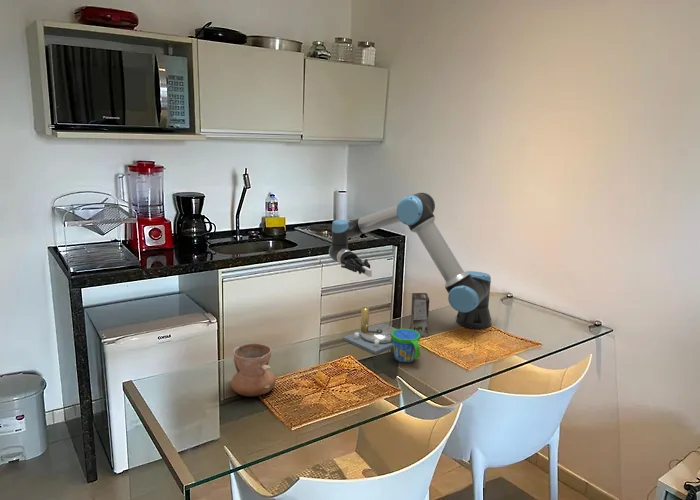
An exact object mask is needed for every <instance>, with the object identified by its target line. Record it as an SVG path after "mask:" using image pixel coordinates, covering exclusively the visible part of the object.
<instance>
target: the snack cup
mask: <svg viewBox="0 0 700 500" xmlns="http://www.w3.org/2000/svg"><path fill="white" fill-rule="evenodd" d="M396 329H397V330H394V331H393V332H392V334H391V343H392V344H393V347H392V348H393V355H394V359H395V360H396V361H398V362H400V363H405V364H407V363H412V362H413V361H414V360H417V359H419V358H420V357H421V351H420V344H419V343H420V342H419V341H420V340H421V337H422V336H420V334H419V333H418V332H417V331H415V330H411V328H396Z"/></svg>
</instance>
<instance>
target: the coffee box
mask: <svg viewBox="0 0 700 500" xmlns="http://www.w3.org/2000/svg"><path fill="white" fill-rule="evenodd" d="M410 311H411V313H410V329H411V330H415V331H417V332H418V333H419V334H420V336H421V337H428V326H429V312H430V298H429V296H428V293H427V292H418V293H417V292H412V293H411V309H410Z"/></svg>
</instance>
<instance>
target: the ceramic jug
mask: <svg viewBox="0 0 700 500" xmlns="http://www.w3.org/2000/svg"><path fill="white" fill-rule="evenodd" d="M232 352H233V357H234V358H233V363H234V366H235V370H236V373H235V374H234V375H233V376H232V377H231V380H230V386H231V389H232V391H234V392H235V393H236V394H237V395H240V396H243V397H251V398H252V397H259V396H263V395H265V394H267V393H269V392H270V391H271V390H273V389H274V387H275V386H276V383H277V381H276V376H275V374H274V373H273V372H271V371H270V369H271V366H270V365H269V363H270V360H271V357H272V347H271V346H269V345H267V344H262V343H256V342H251V343H242V344H240V345H238V346H236V347H235V348H234V349H233V351H232ZM262 394H263V395H262Z"/></svg>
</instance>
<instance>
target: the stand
mask: <svg viewBox="0 0 700 500" xmlns="http://www.w3.org/2000/svg"><path fill="white" fill-rule="evenodd" d="M378 325H382V326H388V327H391V328H394V329H395V330H397V329H398V328H396V327H393V326H390V325H389V324H386V323H384V322H382V323H379V324H378ZM342 338H343V339H342V340H343V341H345V342H347V343H349V342H350V343H349V344H351V343H352V345H353V346H355V347H359V348H360V349H363V350H364V351H367V352H369V353H371V354H373V355H378V354H380V353H383V352H385V351H387V350H390V349H392V348H394V347H393V344H392V343H391V342H389V343H379V340H378V339H376V340H375V342H374V343H372V342H368V341H366V340H364V339H362V337H361V330H359V331H355V332H354V333H351V334H349V335H345V336H343V337H342Z"/></svg>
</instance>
